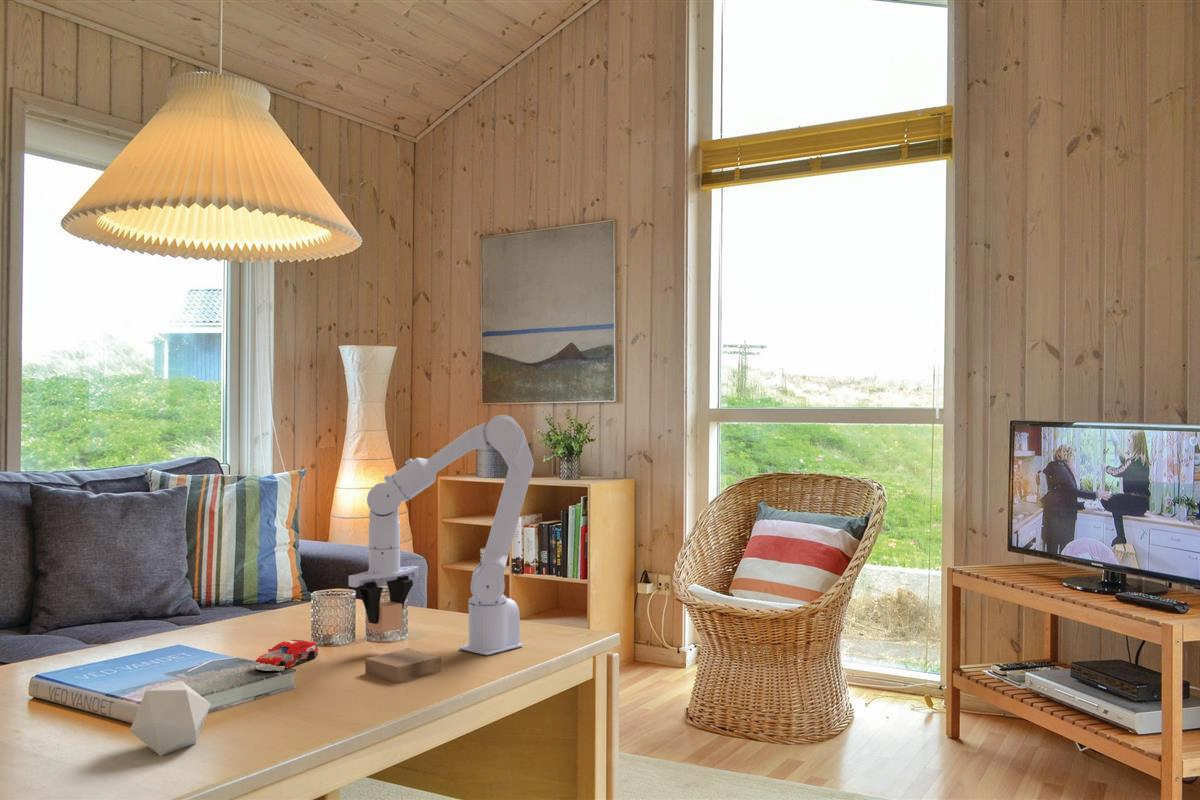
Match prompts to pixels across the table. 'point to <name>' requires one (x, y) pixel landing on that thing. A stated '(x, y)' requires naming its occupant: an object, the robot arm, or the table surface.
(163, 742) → the die
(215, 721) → the table surface
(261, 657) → the race car
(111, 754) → the table surface
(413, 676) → the walnut block
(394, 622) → the terracotta cube
